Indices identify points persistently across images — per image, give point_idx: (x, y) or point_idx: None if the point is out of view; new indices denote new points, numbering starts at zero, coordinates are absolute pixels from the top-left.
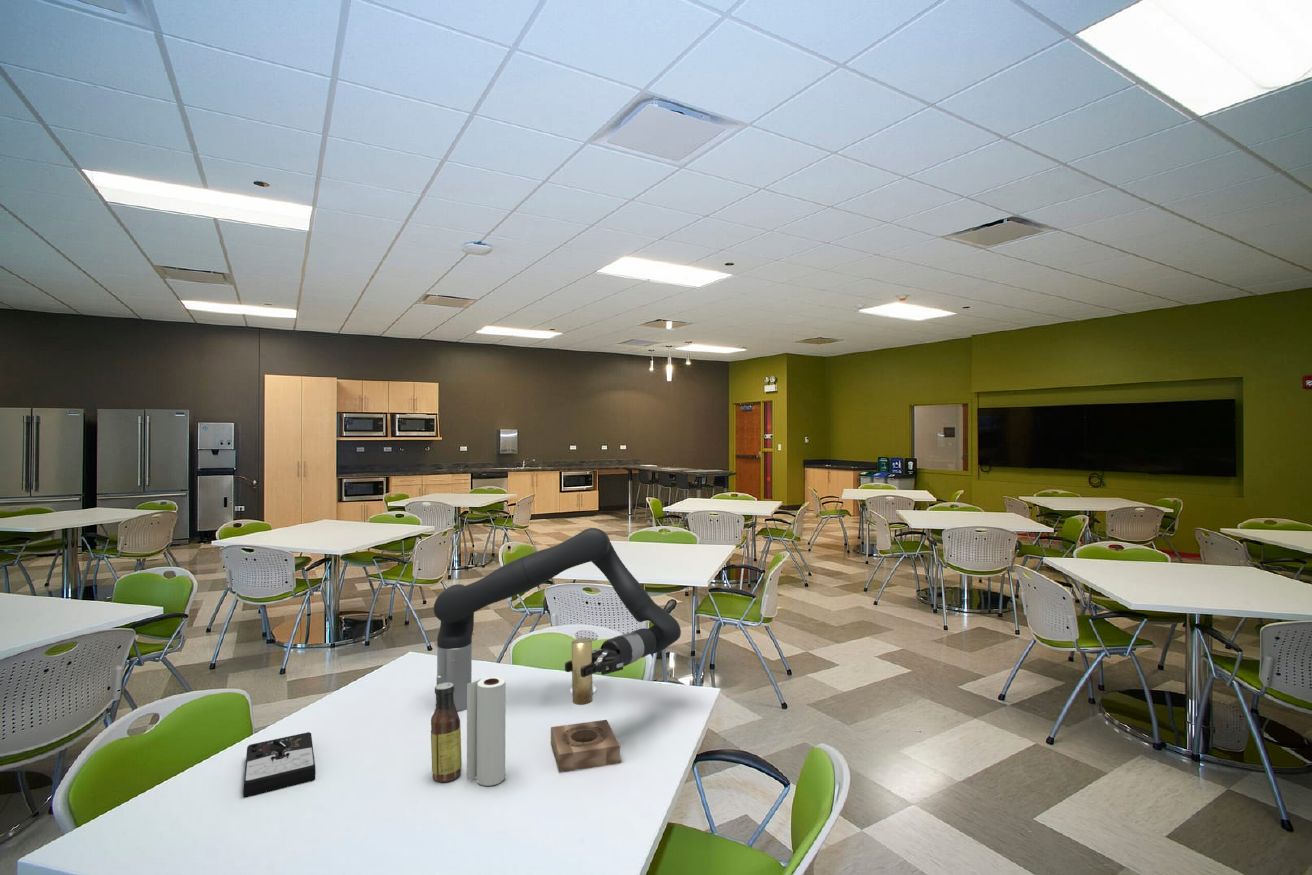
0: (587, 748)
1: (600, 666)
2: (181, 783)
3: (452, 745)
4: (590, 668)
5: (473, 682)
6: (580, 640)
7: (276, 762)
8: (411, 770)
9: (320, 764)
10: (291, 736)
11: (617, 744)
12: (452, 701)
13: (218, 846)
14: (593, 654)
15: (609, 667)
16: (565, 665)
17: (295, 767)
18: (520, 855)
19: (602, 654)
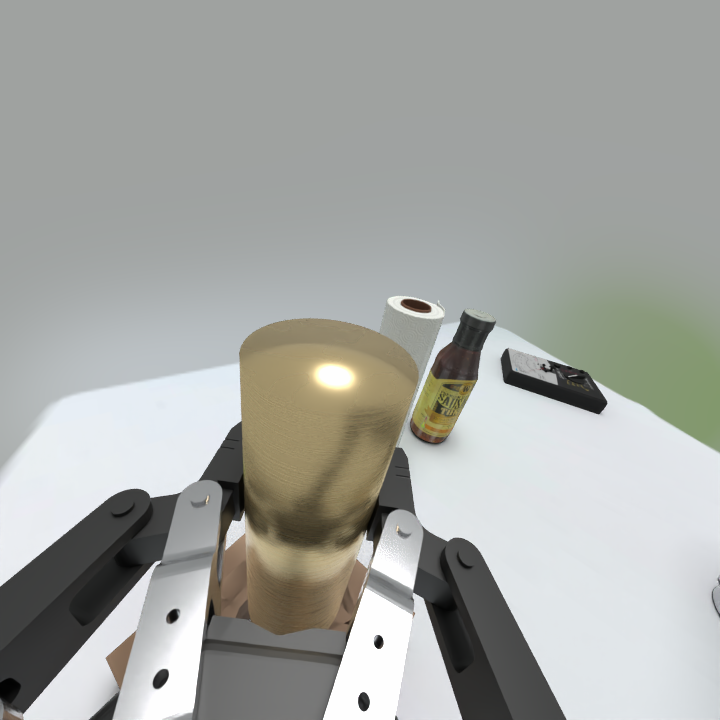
0: (229, 560)
1: (157, 498)
2: (548, 356)
3: (424, 387)
4: (222, 444)
5: (439, 304)
6: (365, 369)
7: (533, 364)
8: (470, 422)
9: (538, 397)
10: (598, 390)
11: (119, 659)
12: (459, 340)
13: (441, 334)
14: (333, 686)
15: (77, 623)
16: None
17: (514, 364)
18: (230, 372)
19: (183, 696)
